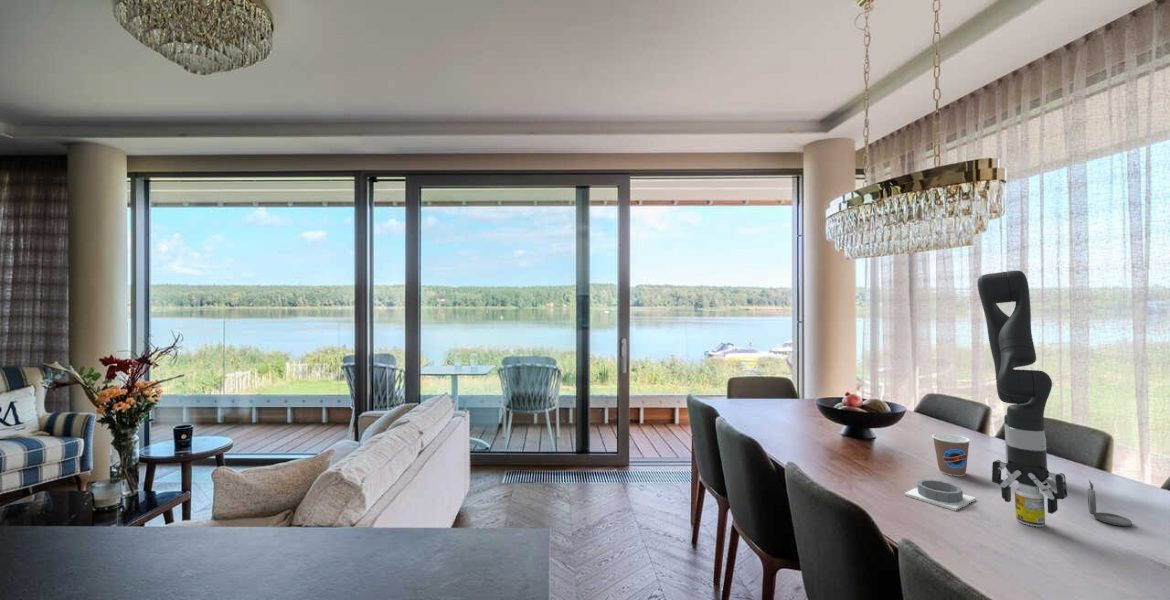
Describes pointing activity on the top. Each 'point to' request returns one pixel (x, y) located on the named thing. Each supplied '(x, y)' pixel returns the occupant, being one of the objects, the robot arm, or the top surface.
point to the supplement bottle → (1029, 505)
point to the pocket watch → (1104, 516)
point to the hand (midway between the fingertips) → (1028, 506)
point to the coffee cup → (951, 453)
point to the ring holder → (940, 494)
